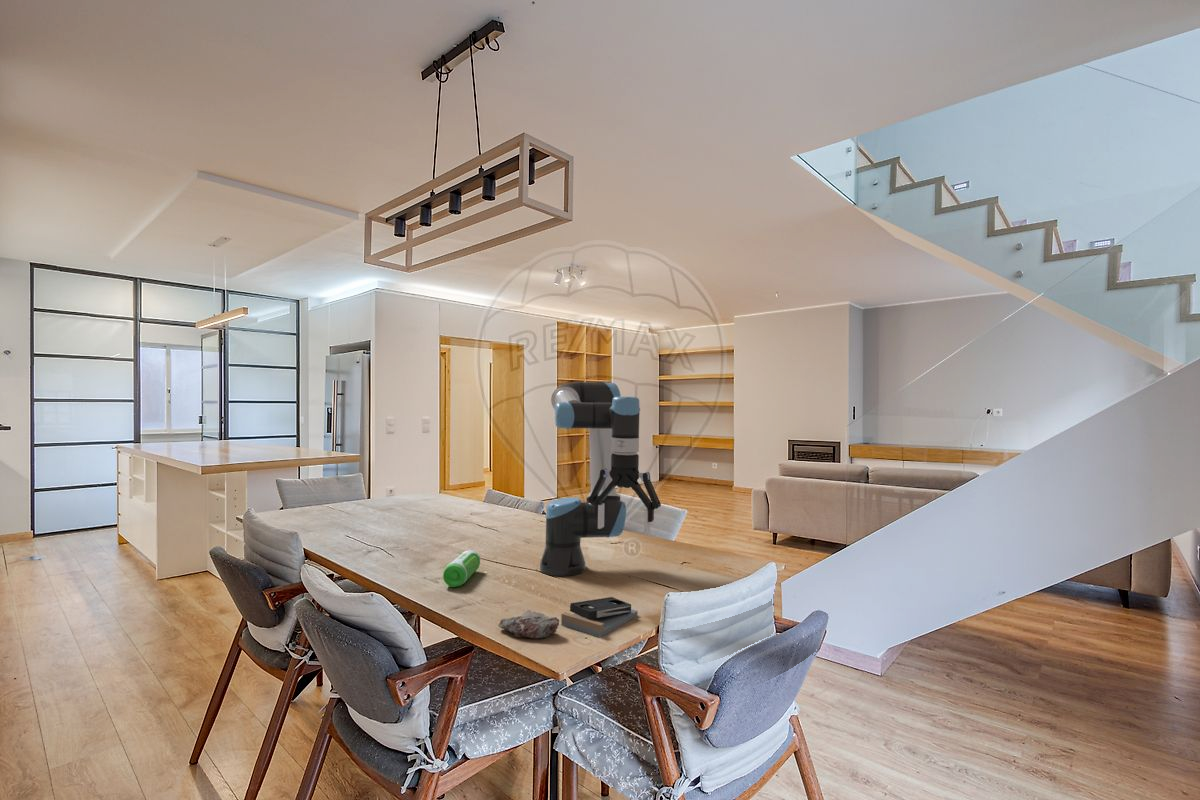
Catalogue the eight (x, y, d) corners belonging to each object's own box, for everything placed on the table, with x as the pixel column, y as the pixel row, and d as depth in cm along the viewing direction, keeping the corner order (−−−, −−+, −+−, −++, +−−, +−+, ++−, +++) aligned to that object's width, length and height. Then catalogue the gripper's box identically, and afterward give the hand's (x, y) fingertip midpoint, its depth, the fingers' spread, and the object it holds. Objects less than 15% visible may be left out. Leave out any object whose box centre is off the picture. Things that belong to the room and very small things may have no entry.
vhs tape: (589, 619, 138) (590, 611, 138) (569, 611, 144) (570, 603, 144) (631, 612, 147) (631, 604, 147) (611, 604, 153) (611, 596, 153)
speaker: (465, 589, 168) (465, 564, 168) (441, 588, 168) (441, 563, 168) (481, 571, 185) (481, 548, 185) (459, 571, 186) (460, 548, 186)
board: (561, 624, 142) (561, 613, 142) (603, 603, 157) (603, 593, 157) (600, 637, 135) (600, 625, 135) (640, 613, 150) (640, 603, 150)
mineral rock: (494, 633, 137) (494, 615, 137) (515, 622, 144) (515, 605, 144) (542, 648, 129) (543, 628, 129) (562, 635, 136) (563, 617, 136)
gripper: (577, 451, 155) (576, 528, 156) (664, 457, 145) (663, 539, 146) (589, 449, 162) (588, 522, 163) (673, 454, 152) (671, 532, 153)
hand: (623, 530), depth 154 cm, fingers open, 13 cm apart
